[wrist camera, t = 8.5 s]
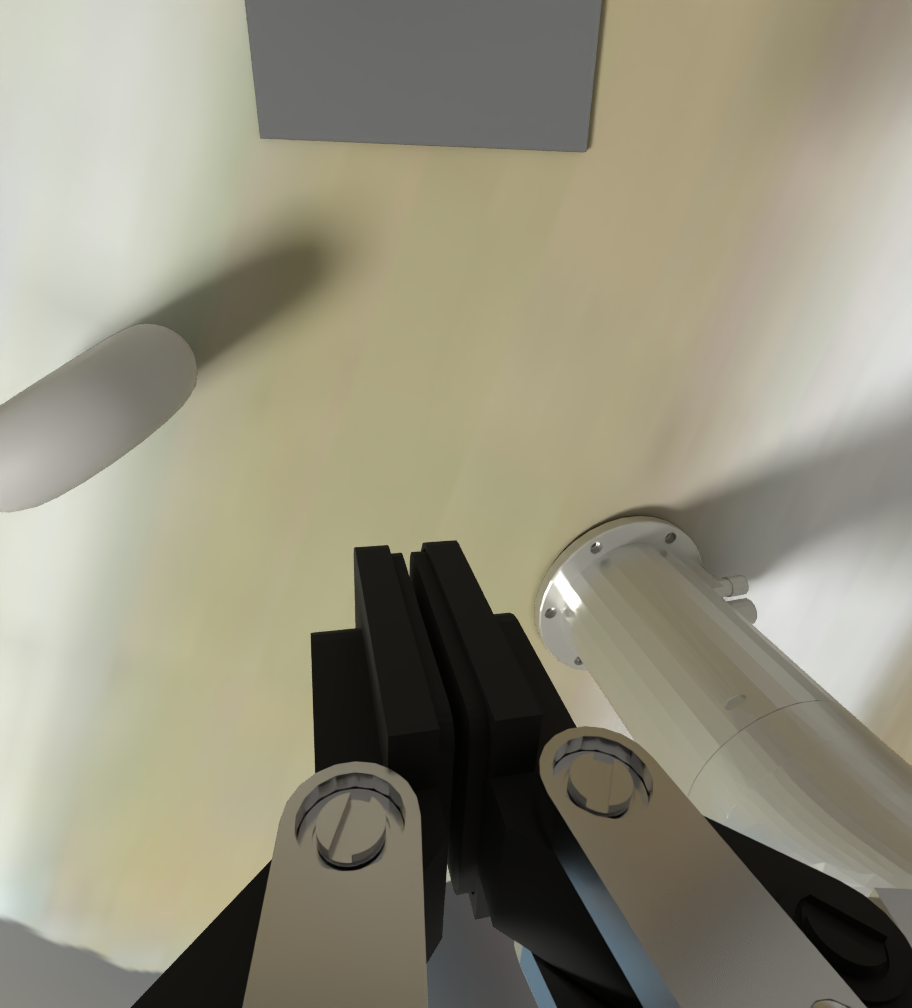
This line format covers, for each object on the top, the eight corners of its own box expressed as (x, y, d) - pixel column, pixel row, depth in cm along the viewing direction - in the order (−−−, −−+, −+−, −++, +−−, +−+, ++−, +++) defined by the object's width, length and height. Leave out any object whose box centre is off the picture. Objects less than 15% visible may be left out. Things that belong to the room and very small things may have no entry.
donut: (174, 290, 27) (130, 335, 19) (224, 355, 29) (204, 423, 20) (-12, 405, 27) (-143, 503, 19) (48, 463, 29) (-45, 576, 20)
